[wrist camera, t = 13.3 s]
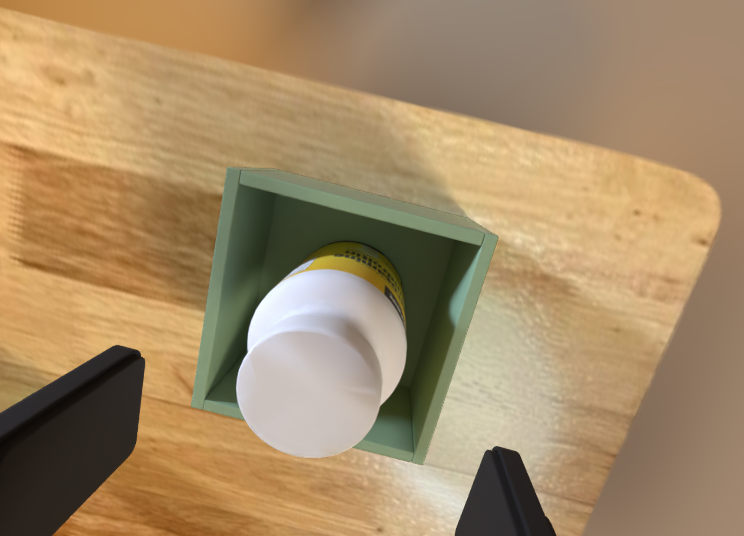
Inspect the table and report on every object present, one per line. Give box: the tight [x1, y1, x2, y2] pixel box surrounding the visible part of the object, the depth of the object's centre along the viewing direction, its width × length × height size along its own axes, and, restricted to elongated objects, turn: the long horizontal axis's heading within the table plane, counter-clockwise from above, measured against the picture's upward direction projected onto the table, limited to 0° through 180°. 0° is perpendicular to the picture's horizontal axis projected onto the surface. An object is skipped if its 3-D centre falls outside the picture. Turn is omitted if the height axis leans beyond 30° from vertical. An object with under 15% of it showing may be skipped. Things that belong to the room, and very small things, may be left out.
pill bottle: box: [236, 241, 407, 458], centre depth 18 cm, size 6×6×12 cm
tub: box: [191, 167, 498, 465], centre depth 21 cm, size 12×12×6 cm
